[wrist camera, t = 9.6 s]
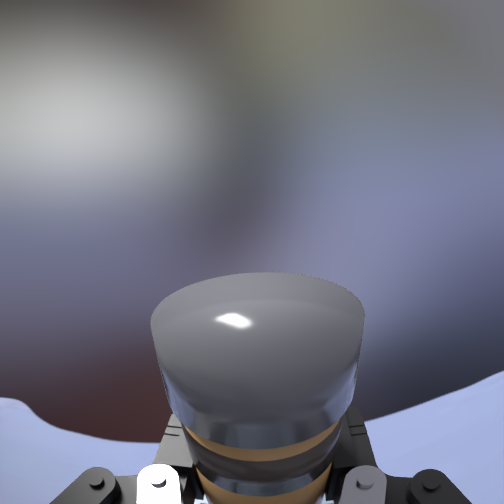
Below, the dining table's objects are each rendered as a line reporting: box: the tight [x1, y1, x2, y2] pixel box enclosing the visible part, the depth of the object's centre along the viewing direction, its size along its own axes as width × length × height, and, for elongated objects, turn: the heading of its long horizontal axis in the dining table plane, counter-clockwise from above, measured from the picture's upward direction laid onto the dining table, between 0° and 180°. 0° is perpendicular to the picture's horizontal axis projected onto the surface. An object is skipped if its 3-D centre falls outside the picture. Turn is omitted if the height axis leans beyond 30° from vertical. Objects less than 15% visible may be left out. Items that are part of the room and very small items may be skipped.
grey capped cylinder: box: [151, 272, 365, 504], centre depth 9 cm, size 5×5×14 cm
